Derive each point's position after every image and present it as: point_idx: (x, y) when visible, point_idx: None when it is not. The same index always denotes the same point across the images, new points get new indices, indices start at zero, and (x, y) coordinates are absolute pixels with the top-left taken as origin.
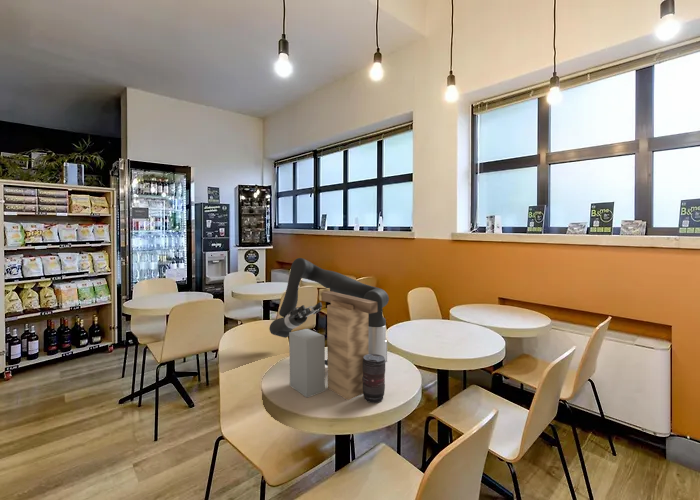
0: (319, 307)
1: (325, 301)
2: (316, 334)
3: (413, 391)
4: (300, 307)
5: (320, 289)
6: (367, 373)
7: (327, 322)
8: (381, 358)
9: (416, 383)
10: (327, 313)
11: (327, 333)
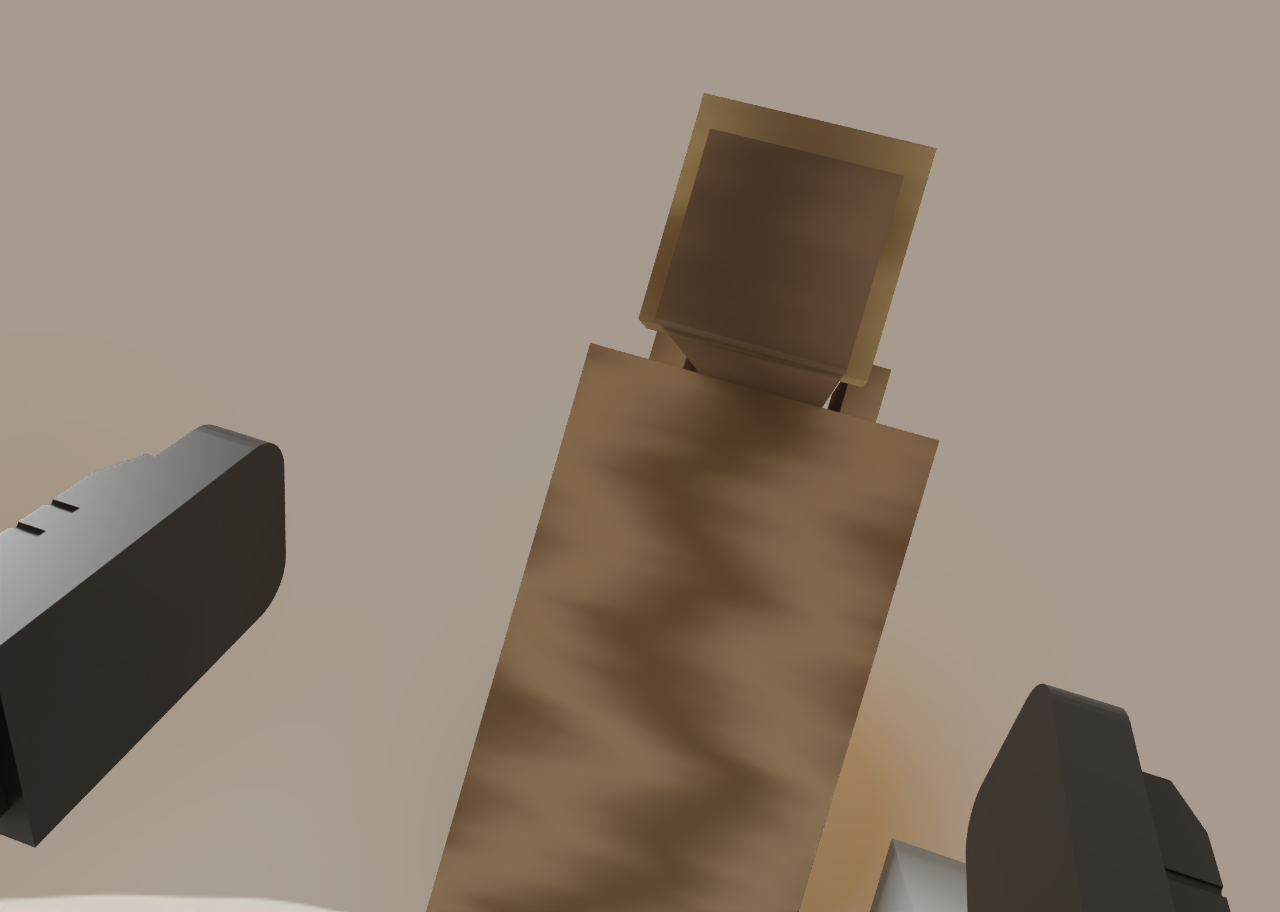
0: (218, 642)
1: (833, 389)
2: (964, 905)
3: (280, 906)
4: (1191, 839)
5: (918, 152)
6: None
7: (868, 671)
8: None
9: (138, 895)
10: (905, 550)
11: (824, 819)
